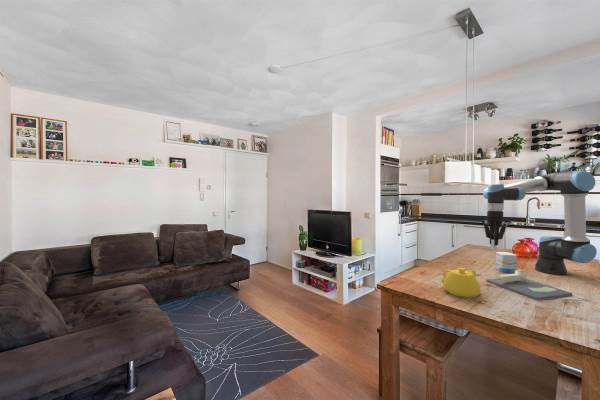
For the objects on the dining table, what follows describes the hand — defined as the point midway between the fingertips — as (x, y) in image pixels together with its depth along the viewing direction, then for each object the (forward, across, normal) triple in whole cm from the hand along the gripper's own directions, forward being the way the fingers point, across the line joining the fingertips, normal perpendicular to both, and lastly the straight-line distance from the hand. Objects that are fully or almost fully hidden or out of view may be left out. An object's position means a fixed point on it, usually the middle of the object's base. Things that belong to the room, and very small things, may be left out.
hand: (493, 250), depth 150 cm
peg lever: (+16, +8, +3) cm, 18 cm away
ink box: (+18, -8, +28) cm, 35 cm away
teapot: (+19, +3, -32) cm, 37 cm away
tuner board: (+18, +14, +5) cm, 23 cm away
